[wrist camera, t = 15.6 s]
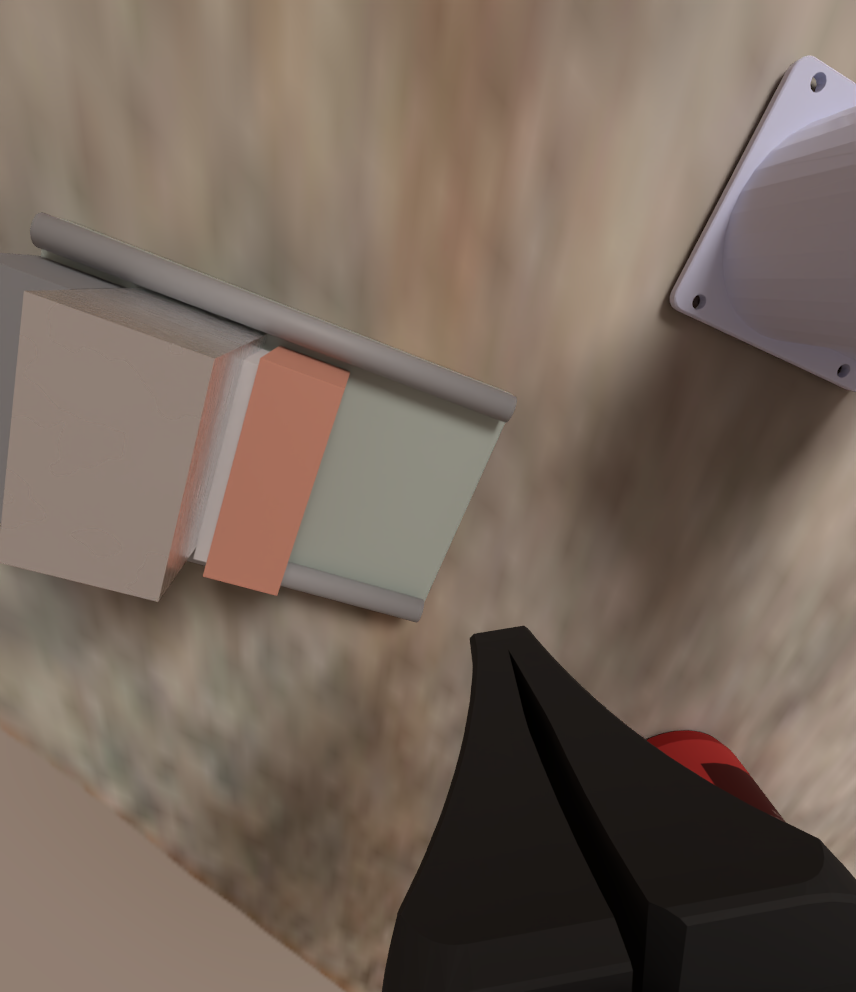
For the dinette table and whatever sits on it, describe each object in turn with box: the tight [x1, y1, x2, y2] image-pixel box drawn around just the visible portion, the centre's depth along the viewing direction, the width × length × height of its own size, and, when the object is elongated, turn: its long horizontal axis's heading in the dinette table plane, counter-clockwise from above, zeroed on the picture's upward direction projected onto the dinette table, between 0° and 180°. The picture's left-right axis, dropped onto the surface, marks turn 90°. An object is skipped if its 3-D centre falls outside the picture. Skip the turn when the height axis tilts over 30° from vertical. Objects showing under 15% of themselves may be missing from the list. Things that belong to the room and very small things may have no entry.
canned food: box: [647, 730, 785, 822], centre depth 24 cm, size 8×8×11 cm
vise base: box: [0, 212, 517, 622], centre depth 17 cm, size 22×10×4 cm, turn 69°
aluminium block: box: [0, 288, 267, 602], centre depth 15 cm, size 4×7×6 cm, turn 159°
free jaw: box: [193, 346, 350, 596], centre depth 17 cm, size 3×8×3 cm, turn 158°
